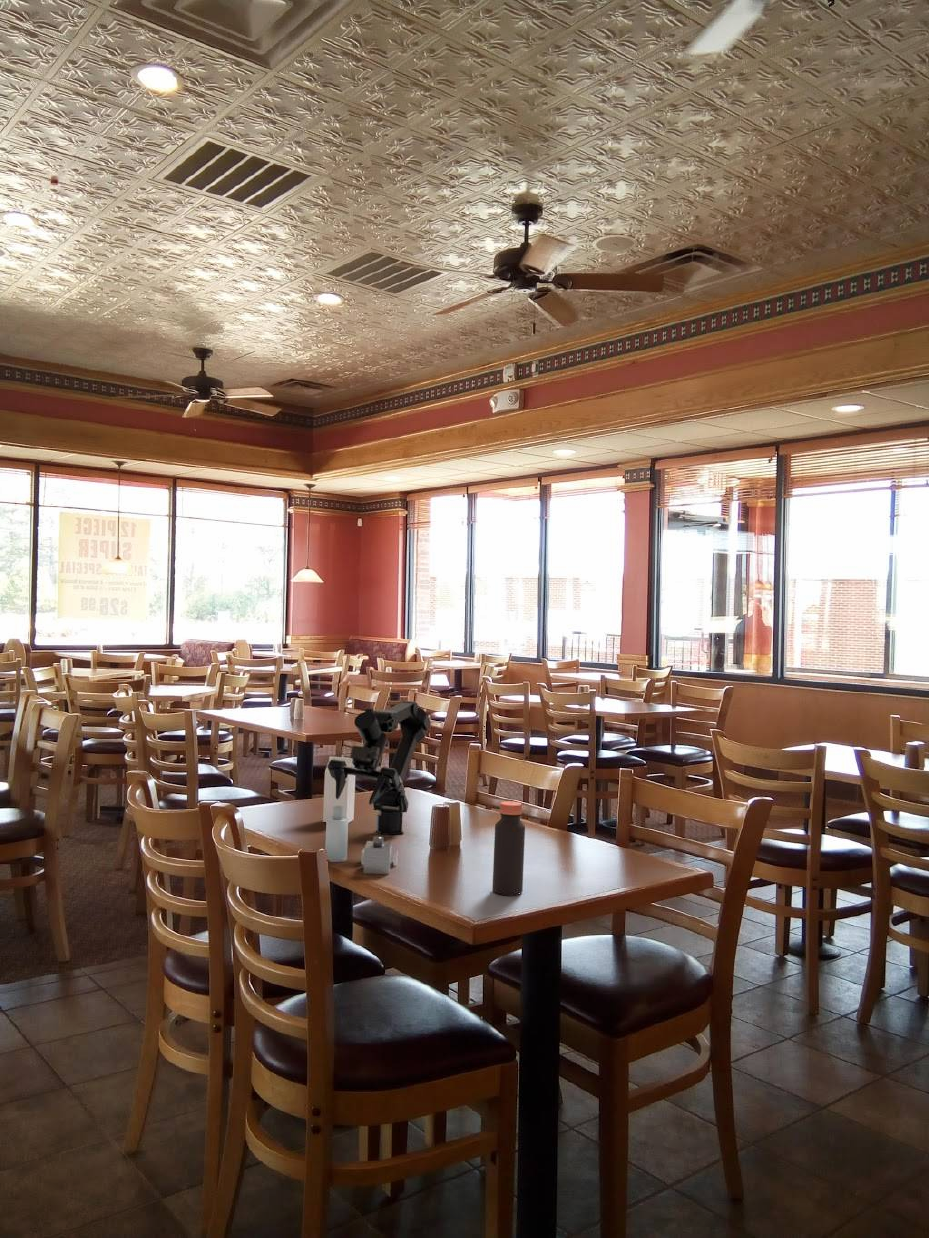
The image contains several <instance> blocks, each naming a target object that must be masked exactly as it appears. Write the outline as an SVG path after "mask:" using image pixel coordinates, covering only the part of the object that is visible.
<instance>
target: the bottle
mask: <svg viewBox="0 0 929 1238" xmlns="http://www.w3.org/2000/svg"><path fill="white" fill-rule="evenodd" d="M522 808H523V804H522V803H521V802H518V801H511V800H510V801H509V800H508V801H505V800H504V801H501V802H500V803H499V816H500V819H499V820H498V821H497V822H496V823H495V825H494V844H493V845H494V846H493V863H492V864H493V868H492V870H493V871H492V872H493V873H492V888H491V889H492V892H493V893H494V892H495V893H494V894H496V893H497V895H499V894H500V895H499V896H505V895H515V894H519V893H521V892H522V893H523V888H524V887H523V884H524V883H523V882H524V866H525V865H524V863H525V862H524V861H525V859H524V858H525V841H526V840H525V836H526V826H525V824H524V823H523V822H522V821H521V817H522V813H523V812H522ZM522 893H521V894H522ZM519 895H520V894H519ZM515 896H516V895H515Z"/></svg>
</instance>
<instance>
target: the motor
mask: <svg viewBox="0 0 929 1238" xmlns="http://www.w3.org/2000/svg"><path fill="white" fill-rule="evenodd" d="M392 846H393V842H392V841H384V836H382V835H381V836H379V835H375V836H373V839H372V840H367V841H366V843H365V845H364V848H362V851H361V856H360V857H361V861H360V865H361V866H363V874H374V875H376V874H377V875H378V874H379V875H389V874H390V870H391V867H392V866H393V867H397V865H398V855H399V854H398V853H399V851H398V850H399V849H394V850H393V856H392ZM392 857H393V861H392Z"/></svg>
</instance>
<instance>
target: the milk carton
mask: <svg viewBox="0 0 929 1238" xmlns="http://www.w3.org/2000/svg"><path fill="white" fill-rule="evenodd" d="M328 758H329V759H328V762H327V765H326V767H325V771H324V782H323V783H324V784H323V810H322V823H323V822H326V821H327V818H329V817H333V807H334V806H342V807H343V816H342V817H345V818H348V824H349V823H351V822H353V821H354V820H355V819H354V817H355V816H354V815H355V796H356V795H355V793H356V792H355V791H356V775H350V774H348V776H347V778H346V779H345V780H346V783H345V786H344V788H343V790H342V793H341V795H340V797H339V799H336V781H335V779H334V778H332V777H331V774H330V772H329V770H328V767H327V766H328V764H329V762H330V761H331V760H332V759H335V760H342V761H345V763H346V765H347V766H348V767H355V765H353V763H352V761H353V759H352V758H350V757H345V756H344V757H342V756H333V755H332V756H329V757H328Z"/></svg>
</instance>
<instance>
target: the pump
mask: <svg viewBox="0 0 929 1238" xmlns="http://www.w3.org/2000/svg"><path fill="white" fill-rule="evenodd" d="M342 816H343V807H342V806H334V807H333V817H329V818H327V821H326V823H325V824H326V825H325V846H324V847H325V849H324V851H325V850H326V852H327V856H328V860H329V861H328V862H330V863H331V862H332V863H340V862H345V861H347V858H348V837H349V836H348V835H349V823H348V818H345V817H342Z"/></svg>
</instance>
